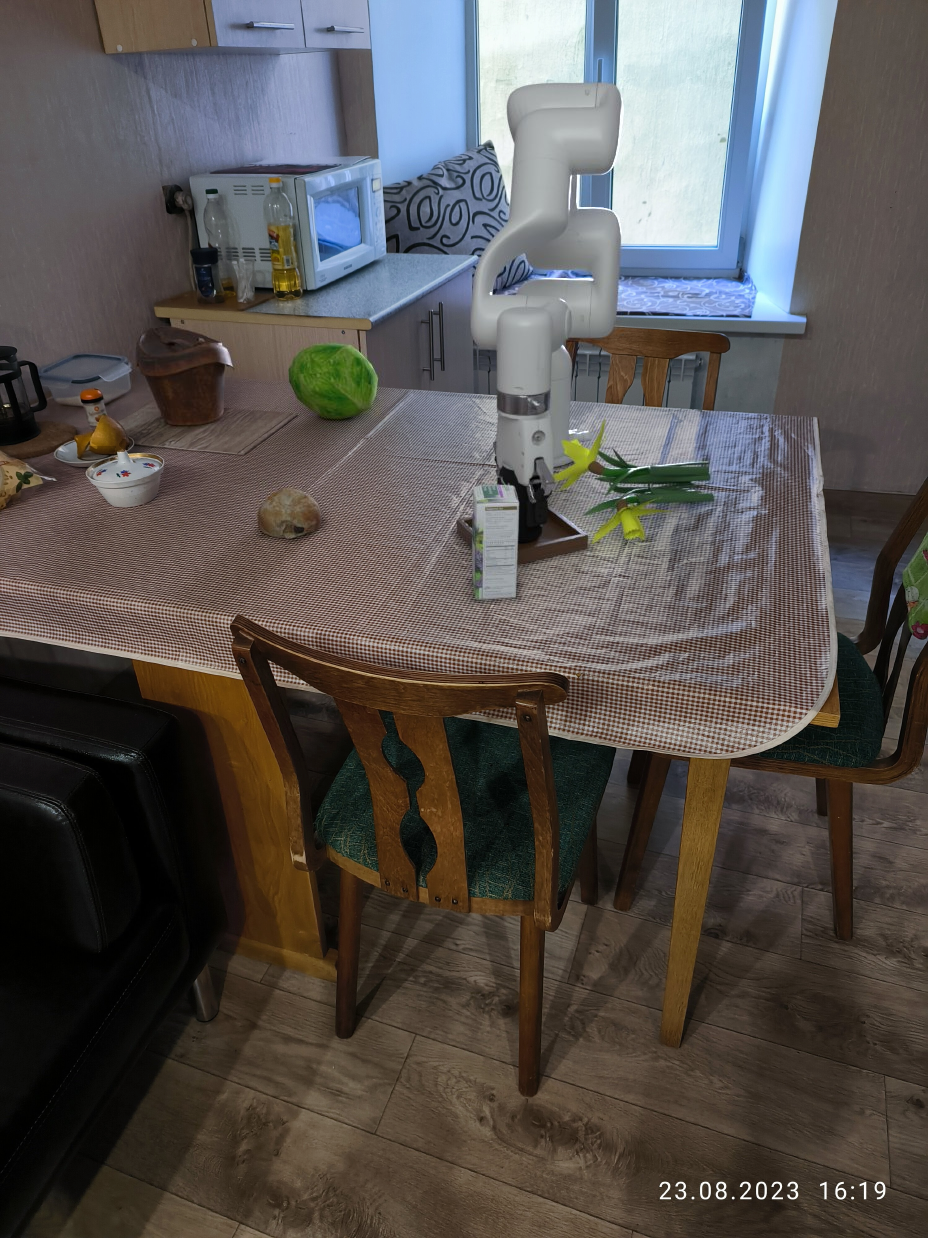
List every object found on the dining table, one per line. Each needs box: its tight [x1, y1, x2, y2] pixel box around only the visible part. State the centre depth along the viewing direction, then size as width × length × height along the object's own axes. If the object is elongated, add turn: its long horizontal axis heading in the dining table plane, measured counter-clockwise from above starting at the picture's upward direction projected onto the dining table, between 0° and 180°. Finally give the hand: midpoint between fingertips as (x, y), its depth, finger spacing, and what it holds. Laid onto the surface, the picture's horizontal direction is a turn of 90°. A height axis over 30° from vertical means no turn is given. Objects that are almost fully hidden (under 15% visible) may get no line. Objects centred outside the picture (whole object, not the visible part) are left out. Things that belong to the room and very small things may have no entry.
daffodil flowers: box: [553, 419, 715, 544], centre depth 132 cm, size 17×15×35 cm
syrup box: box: [471, 484, 519, 601], centre depth 116 cm, size 6×6×14 cm
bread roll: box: [256, 487, 323, 540], centre depth 137 cm, size 10×10×8 cm
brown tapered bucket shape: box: [134, 325, 236, 427], centre depth 181 cm, size 18×20×18 cm
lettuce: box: [288, 342, 379, 420], centre depth 181 cm, size 17×20×17 cm
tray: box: [456, 504, 589, 566], centre depth 132 cm, size 16×14×2 cm
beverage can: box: [499, 461, 542, 544], centre depth 129 cm, size 7×7×12 cm
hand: (521, 512), depth 130 cm, fingers open, 9 cm apart
